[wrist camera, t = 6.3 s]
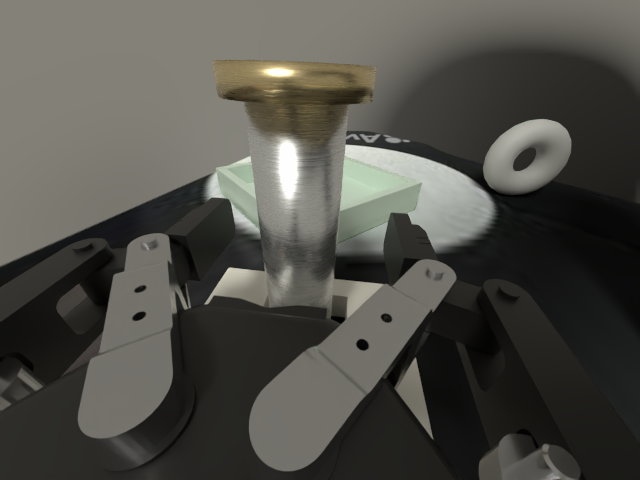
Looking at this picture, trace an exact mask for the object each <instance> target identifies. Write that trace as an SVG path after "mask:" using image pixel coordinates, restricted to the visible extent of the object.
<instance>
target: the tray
mask: <svg viewBox="0 0 640 480" xmlns="http://www.w3.org/2000/svg"><path fill="white" fill-rule="evenodd" d="M216 172H217V176H218V181H219V186H220V191H221V194H222V195H223V196H224V197H225V198H226V199H229V200H230V203H231V204H233V205H234V206H235V207H236V208H237V209H238V210H239V211H240V212H241V213H242V214H243V215H244V216H245V217H246V218H248V219H249V220H250V221H251V222H252V223H253V224H254V225H255V226H256V227H257V228H258V229H259V230H260V226H259V218H258V210H257V202H256V194H255V186H254V178H253V170H252V162H249V163H243V164H236V165H230V166H225V167H218V168H216ZM421 185H422V182H419V181H416V180H413V179H410V178H407V177H404V176H401V175H398V174H396V173H393V172H390V171H387V170H384V169H381V168H378V167H375V166H372V165H369V164H366V163H363V162H360V161H357V160H355V159H352V158H349V157H346V156H344V166H343V178H342V190H341V202H340V214H339V226H338V239H337V243H339V242H341V241H344V240H346V239H348V238H351V237H353V236H355V235H357V234H360V233H362V232H364V231H367V230H369V229H371V228H373V227H376V226H378V225H380V224H383V223H385V222H387V221H389V216H390V214H391V212H393V213H408V212H410V211H412V210H415V207H416V203H417V200H418V196H419V192H420V189H421Z"/></svg>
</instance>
